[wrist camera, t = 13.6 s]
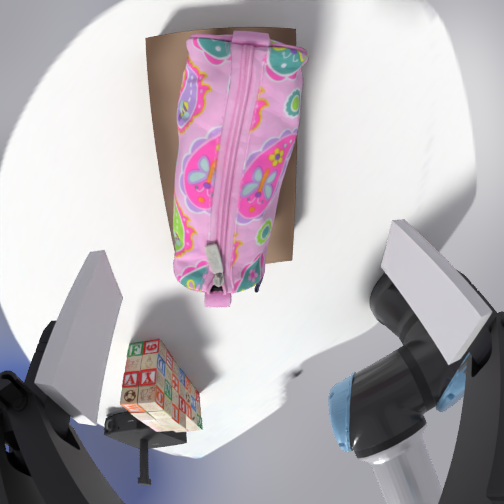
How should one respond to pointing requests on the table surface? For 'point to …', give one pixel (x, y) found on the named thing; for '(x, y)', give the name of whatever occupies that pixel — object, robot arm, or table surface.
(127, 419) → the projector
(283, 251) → the walnut riser
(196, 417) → the stack of blocks
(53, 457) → the robot arm
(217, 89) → the pencil case
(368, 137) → the table surface
